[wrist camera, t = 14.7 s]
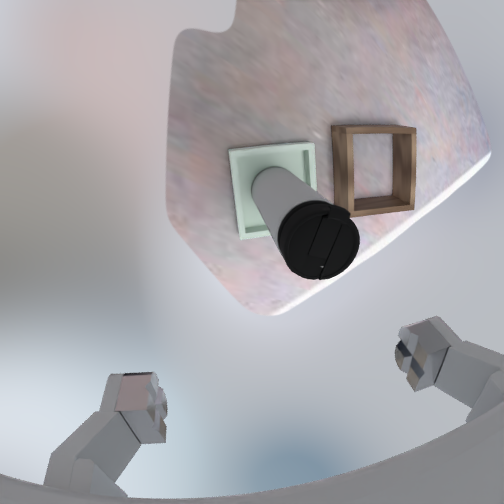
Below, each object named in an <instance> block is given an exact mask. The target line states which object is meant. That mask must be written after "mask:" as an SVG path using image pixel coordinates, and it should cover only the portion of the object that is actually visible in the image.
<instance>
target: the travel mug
mask: <svg viewBox="0 0 504 504" xmlns="http://www.w3.org/2000/svg"><path fill="white" fill-rule="evenodd" d="M251 195H252V198H253V201H254V203H255V205H256V206H257V208H258V210H259V212H260V214H261V216H262V218H263V220H264V222H265V224H266V226H267V228H268V230H269V232H270V234H271V236H272V238H273V240H274V242H275V244H276V246H277V248H278V249H279V251H280V253H281V255H282V256H283V258H284V260H285V262H286V264H287V266H288V267H289V269H290V270H291V271H292V272H294V273H295V274H297V275H299V276H301V277H303V278H306V279H313V280H315V279H319V280H322V279H330V278H332V277H334V276H336V275H338V274H340V273H341V272H343V271H344V270H345V269H346V268H348V266H349V265H350V264H351V263H352V262H353V260H354V258H355V257H356V255H357V252H358V249H359V244H360V236H359V232H358V229H357V227H356V225H355V224H354V222H353V221H352V220H351V219H350V216H351V213H350V212H349V211H348V210H346V209H345V208H343V207H340V206H337V205H333V204H332V203H331V202H330V201H328V200H327V199H326V198H324V197H323V196H322V195H321V194H319V193H318V192H317V191H315V190H314V189H313V188H311V187H310V186H309V185H307V184H306V183H305V182H303V181H302V180H301V179H299V178H298V177H297V176H295V175H294V174H292V173H291V172H290V171H288V170H287V169H285V168H282V167H278V166H272V167H268V168H265V169H263V170H262V171H260V172H259V173H258V174H257V175H256V177H255V178H254V180H253V182H252V186H251Z"/></svg>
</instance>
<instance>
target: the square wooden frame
mask: <svg viewBox="0 0 504 504" xmlns="http://www.w3.org/2000/svg"><path fill="white" fill-rule="evenodd" d="M331 130H332V147H333V169H334V205H337V206H340V207H343V208H345V209H346V210H348V211H349V212H350V213H351V216H350V218H352V217H359V216H367V215H375V214H383V213H392V212H400V211H408V210H414V204H415V186H416V128H413V127H407V126H400V125H331ZM370 133H393V193H392V195H391V196H380V197H370V198H361V199H354V161H353V135H352V134H370Z"/></svg>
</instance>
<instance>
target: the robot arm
mask: <svg viewBox="0 0 504 504" xmlns="http://www.w3.org/2000/svg"><path fill="white" fill-rule="evenodd" d="M399 338H400V339H401V340H400V341H399V343H398V344H397V345H396V349H395V360H396V362H397V365H398V367H399V369H400V370H401V371H403V372H405V373H407V378H406V379H407V381H408V382H409V384H410V385H411V387H412V389H413V390H414V391H415V392H416V391H419V390H421V389H424V388H427V387H429V386H432V385H434V386H435V387H437V388H439V389H440V390H442V391H443V392H445V393H447V394H449V395H450V396H452V397H454V398H455V399H457V400H459V401H460V402H462V403H464V404H465V405H467V406H469V407H470V408H472V410H471V412H470V413H469V415H468V416H467V419H466V422H467V423H466V424H464V425H462V426H460V427H458V428H456V429H455V430H453V431H450V432H449V433H447V434H444V435H443V436H440V437H438V438H436V439H434V440H432V441H430V442H428V443H425V444H423V445H421V446H419V447H416V448H414V449H411V450H409V451H407V452H404V453H402V454H399V455H397V456H394V457H391V458H389V459H386V460H384V461H380V462H378V463H375V464H372V465H369V466H366V467H363V468H360V469H357V470H353V471H350V472H347V473H343V474H340V475H336V476H333V477H329V478H325V479H321V480H317V481H313V482H309V483H305V484H300V485H295V486H290V487H285V488H280V489H274V490H268V491H262V492H255V493H247V494H240V495H231V496H220V497H206V498H184V499H150V498H128V497H127V494H126V493H125V492H124V491H123V490H122V489H121V488H120V487H119V486H117V485H116V484H115V482H116V480H117V479H118V477H119V476H120V475H121V473H122V472H123V470H124V469H125V468H126V466H127V465H128V463H129V462H130V461H131V459H132V458H133V456H134V455H135V453H136V452H137V451H138V449H139V448H140V446H141V444H151V443H166V424H165V423H164V421H163V420H164V419H165V418H166V416H167V400H166V396H165V393H164V391H163V389H162V388H161V387H159V386H158V381H159V379H158V377H157V375H156V373H155V372H142V373H125V374H111V375H110V376H109V377H108V380H107V384H106V387H105V391H104V395H103V398H102V403H101V406H100V410H99V412H94V413H93V414H92V415H91V416H90V417H89V418H88V419H87V420H86V421H85V422H84V423H83V424H82V425H81V426H80V427H79V428H78V429H77V430H76V431H75V432H73V433H72V434H71V435H70V436H69V437H68V438H67V439H66V440H65V441H64V442H63V443H62V444H61V445H60V446H59V447H58V448H57V449H56V450H55V451H53V452H52V453H51V457H50V460H49V464H48V468H47V472H46V476H45V480H44V484H43V485H39V484H35V483H31V482H27V481H23V480H20V479H16V478H12V477H9V476H6V475H2V474H0V504H504V355H502V354H500V353H497V352H495V351H492V350H490V349H487V348H484V347H482V346H479V345H476V344H474V343H471V342H468V341H462V340H461V339H460V338H459V337H458V336H457V335H456V334H455V333H454V332H453V330H452V329H451V328H450V327H449V326H448V325H447V324H446V323H445V322H444V321H443V320H442V319H441V318H440V317H438V316H435V317H432V318H428V319H426V320H423V321H419V322H416V323H413V324H409V325H406V326H403V327H401V329H400V331H399Z"/></svg>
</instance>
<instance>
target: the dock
mask: <svg viewBox="0 0 504 504" xmlns="http://www.w3.org/2000/svg"><path fill="white" fill-rule="evenodd" d="M228 153H229V161H230V170H231V178H232V186H233V194H234V202H235V210H236V218H237V226H238V233H239V237H240V240H244V239H251V238H258V237H265V236H271V234H270V232H269V230H268V228H267V226H266V224H265V222H264V220H263V218H262V216H261V214H260V212H259V210H258V208H257V206H256V205H255V203H254V201H253V198H252V195H251V186H252V182H253V180H254V178H255V177H256V175H257V174H258V173H259V172H260V171H262V170H263V169H265V168H268V167H272V166H278V167H282V168H285V169H287V170H288V171H290V172H291V173H292V174H294V175H295V176H297V177H298V178H299V179H301V180H302V181H303V182H305V183H306V184H307V185H309V186H310V187H311V188H313V189H314V190H315V191H317V183H316V164H315V147H314V143H312V142H309V141H306V142H293V143H281V144H271V145H261V146H252V147H243V148H235V149H228Z"/></svg>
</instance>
